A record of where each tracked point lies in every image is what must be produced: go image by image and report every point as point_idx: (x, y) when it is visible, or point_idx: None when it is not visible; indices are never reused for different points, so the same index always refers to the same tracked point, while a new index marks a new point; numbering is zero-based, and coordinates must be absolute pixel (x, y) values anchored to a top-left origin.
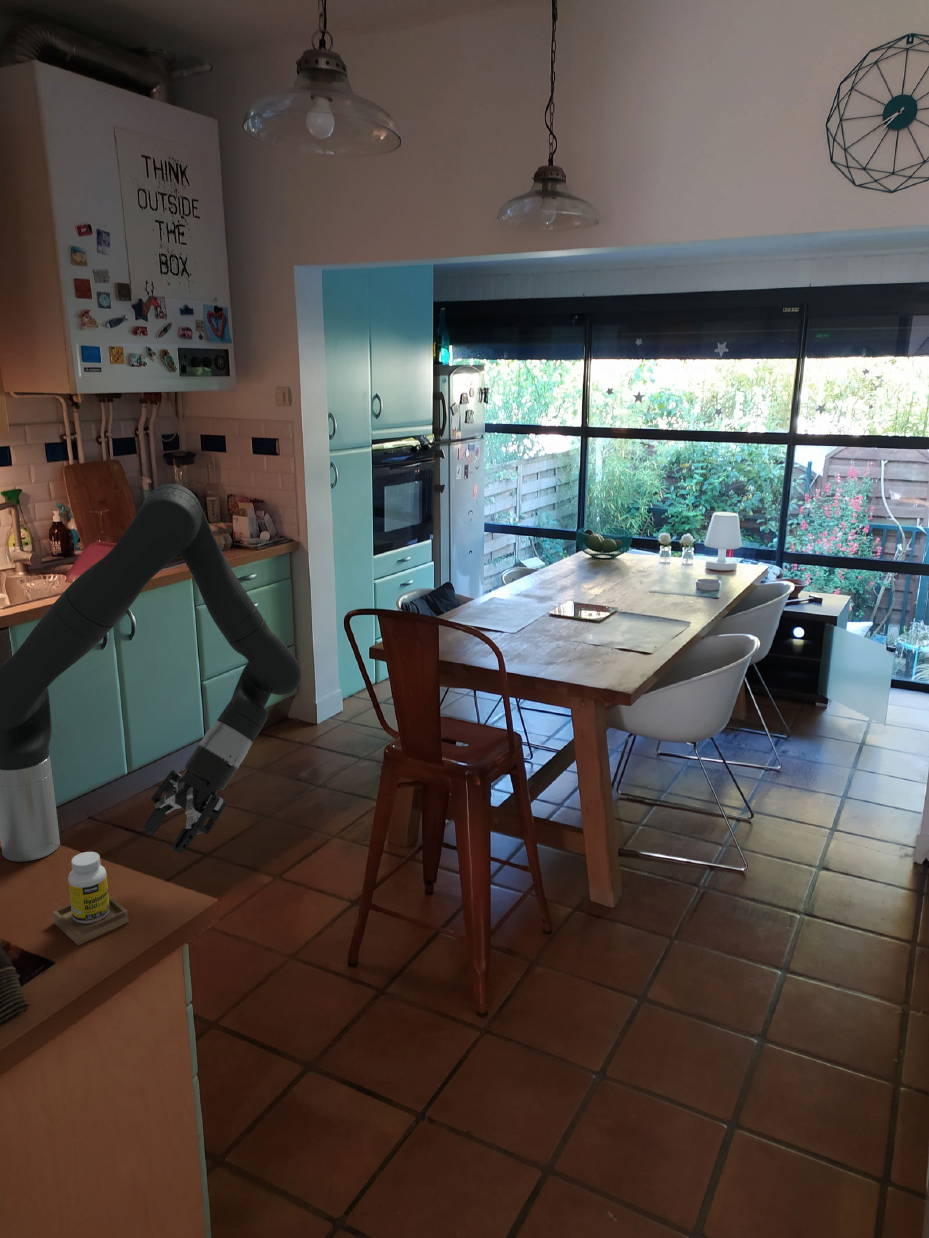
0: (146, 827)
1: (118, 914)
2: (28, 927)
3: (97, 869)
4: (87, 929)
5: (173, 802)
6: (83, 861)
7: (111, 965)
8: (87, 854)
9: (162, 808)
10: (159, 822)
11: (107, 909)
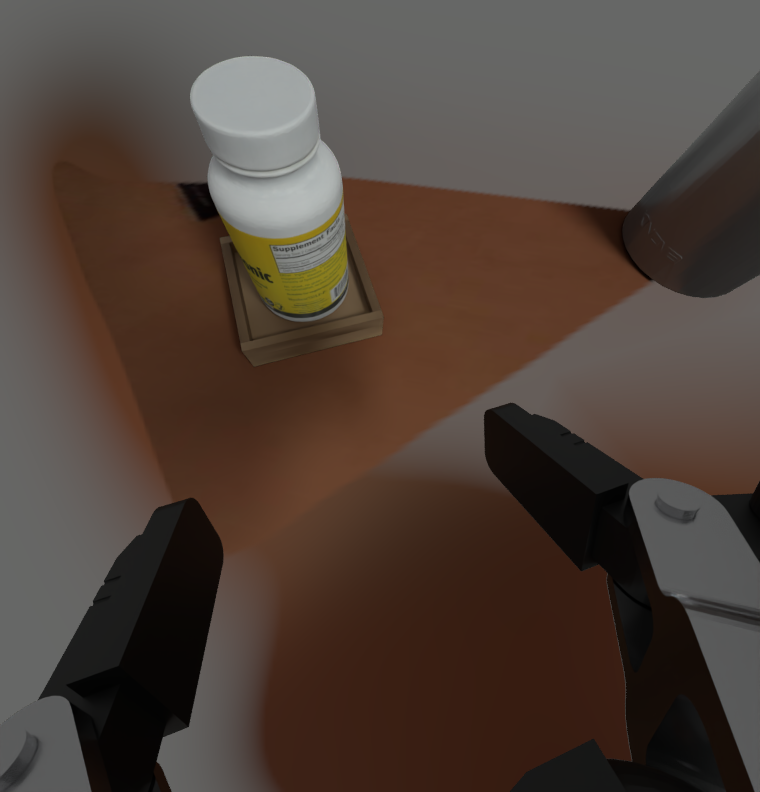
0: (494, 412)
1: (240, 328)
2: (357, 202)
3: (232, 173)
4: (224, 259)
5: (666, 711)
6: (230, 82)
7: (108, 301)
8: (284, 103)
9: (631, 547)
10: (533, 502)
11: (270, 305)
